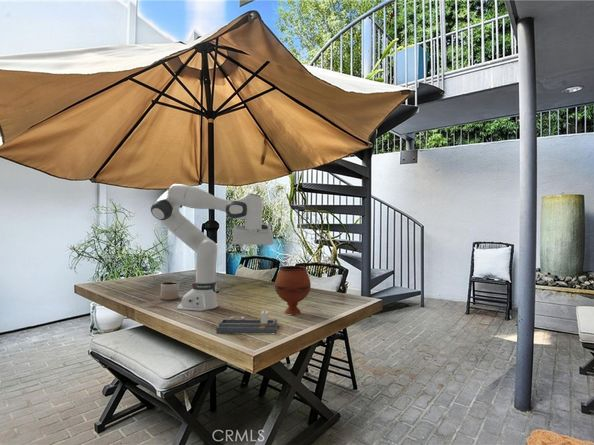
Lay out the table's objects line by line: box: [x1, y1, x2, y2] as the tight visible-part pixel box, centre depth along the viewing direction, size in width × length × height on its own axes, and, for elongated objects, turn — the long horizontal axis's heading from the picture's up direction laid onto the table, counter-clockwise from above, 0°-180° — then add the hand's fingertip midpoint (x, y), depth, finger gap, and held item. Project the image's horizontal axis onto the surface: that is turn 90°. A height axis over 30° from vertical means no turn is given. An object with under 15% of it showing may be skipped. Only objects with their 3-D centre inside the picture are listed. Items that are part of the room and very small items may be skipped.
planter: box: [160, 281, 180, 301], centre depth 213 cm, size 11×11×10 cm
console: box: [215, 316, 278, 334], centre depth 154 cm, size 26×13×4 cm, turn 90°
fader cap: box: [260, 310, 269, 324], centre depth 154 cm, size 3×4×5 cm
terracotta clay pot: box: [274, 265, 311, 316], centre depth 181 cm, size 19×19×25 cm
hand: (253, 253), depth 169 cm, fingers open, 8 cm apart
